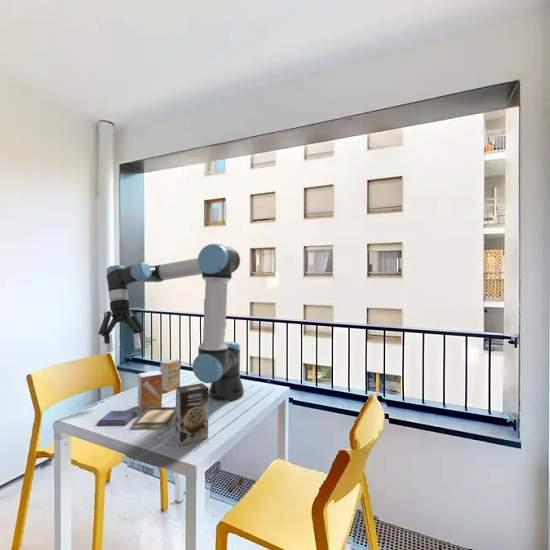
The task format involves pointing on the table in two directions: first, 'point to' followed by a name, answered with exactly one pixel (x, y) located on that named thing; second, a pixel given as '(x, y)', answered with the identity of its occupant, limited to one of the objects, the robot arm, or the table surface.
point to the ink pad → (117, 418)
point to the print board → (155, 417)
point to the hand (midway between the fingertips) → (124, 350)
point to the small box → (149, 389)
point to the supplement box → (170, 374)
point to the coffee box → (191, 413)
